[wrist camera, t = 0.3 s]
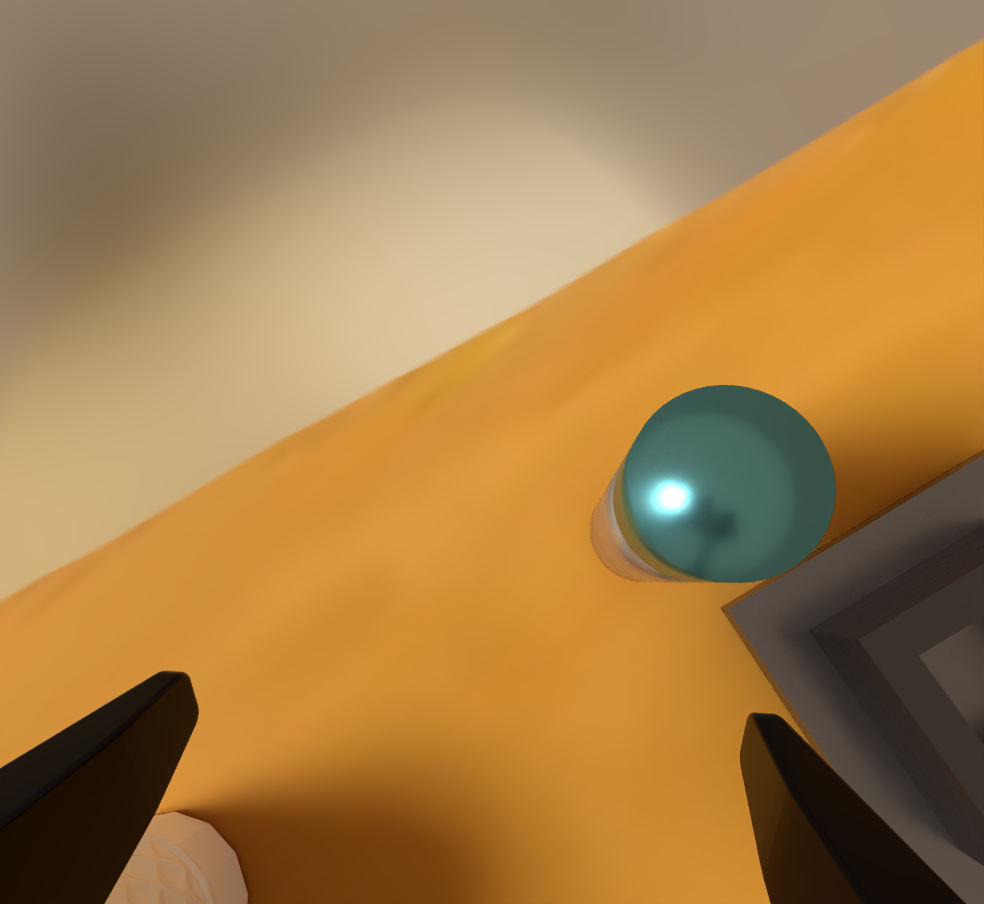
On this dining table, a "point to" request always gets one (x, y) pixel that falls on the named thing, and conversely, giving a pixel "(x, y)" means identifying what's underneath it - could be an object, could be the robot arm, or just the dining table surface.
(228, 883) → the white cup
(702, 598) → the dining table surface
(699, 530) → the teal and silver cylinder
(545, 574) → the dining table surface
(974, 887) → the docking mount
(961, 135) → the dining table surface
